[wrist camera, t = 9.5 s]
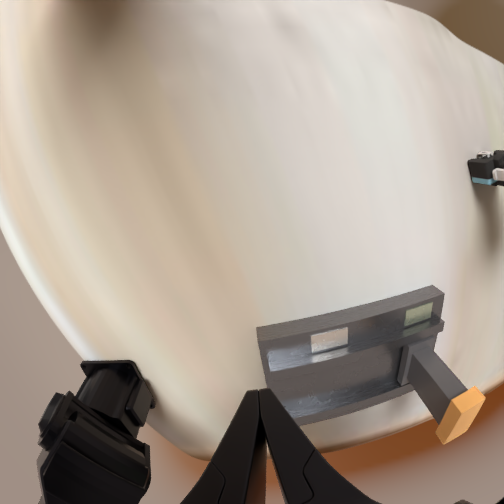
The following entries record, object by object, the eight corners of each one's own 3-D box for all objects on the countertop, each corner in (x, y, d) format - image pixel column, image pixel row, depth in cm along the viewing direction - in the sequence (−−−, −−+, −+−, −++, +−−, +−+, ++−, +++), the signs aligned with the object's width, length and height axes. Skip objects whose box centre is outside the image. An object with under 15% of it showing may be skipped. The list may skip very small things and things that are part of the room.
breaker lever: (396, 379, 22) (440, 447, 13) (404, 341, 21) (461, 412, 12) (420, 370, 22) (466, 432, 13) (429, 331, 21) (488, 394, 12)
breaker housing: (274, 416, 25) (277, 438, 22) (256, 327, 22) (259, 351, 19) (415, 375, 25) (428, 392, 22) (432, 284, 22) (452, 299, 19)
